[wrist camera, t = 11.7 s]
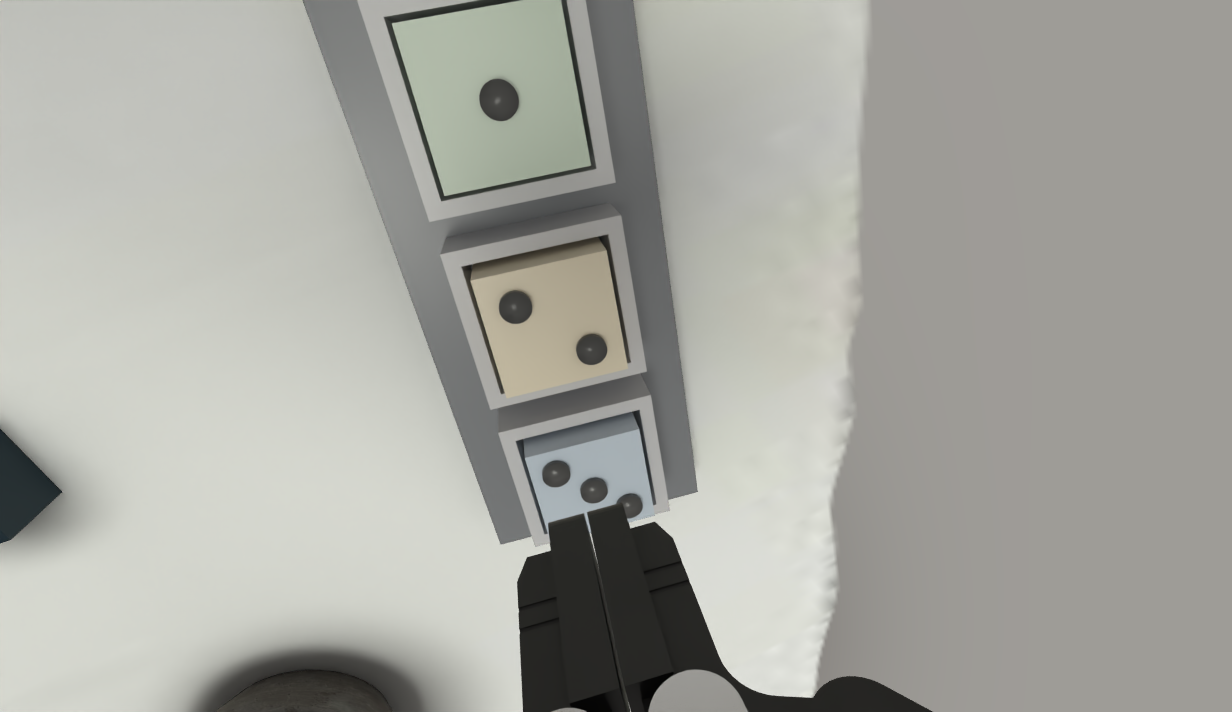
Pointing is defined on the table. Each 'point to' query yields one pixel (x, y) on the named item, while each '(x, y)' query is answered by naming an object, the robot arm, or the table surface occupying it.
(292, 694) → the planter
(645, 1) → the table surface
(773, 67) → the table surface
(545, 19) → the button one
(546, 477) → the button three
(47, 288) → the table surface
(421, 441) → the table surface
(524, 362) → the button two
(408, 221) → the keypad
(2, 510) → the watch
